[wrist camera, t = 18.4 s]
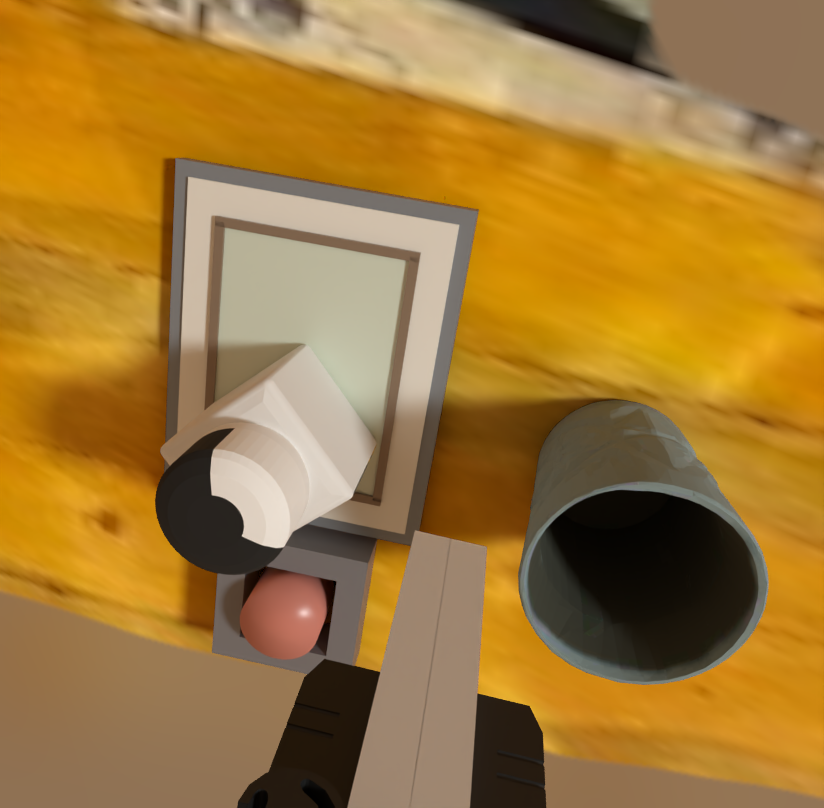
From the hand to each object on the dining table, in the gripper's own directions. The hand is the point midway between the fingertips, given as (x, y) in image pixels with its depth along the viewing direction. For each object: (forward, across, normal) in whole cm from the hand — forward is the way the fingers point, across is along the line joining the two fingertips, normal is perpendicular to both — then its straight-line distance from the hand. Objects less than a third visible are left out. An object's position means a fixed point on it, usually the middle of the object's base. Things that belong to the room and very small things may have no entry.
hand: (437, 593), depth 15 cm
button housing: (+26, -8, -20) cm, 34 cm away
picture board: (+26, -9, -6) cm, 28 cm away
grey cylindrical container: (+26, +9, -8) cm, 29 cm away
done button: (+26, -8, -20) cm, 34 cm away
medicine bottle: (+25, -9, -9) cm, 28 cm away
